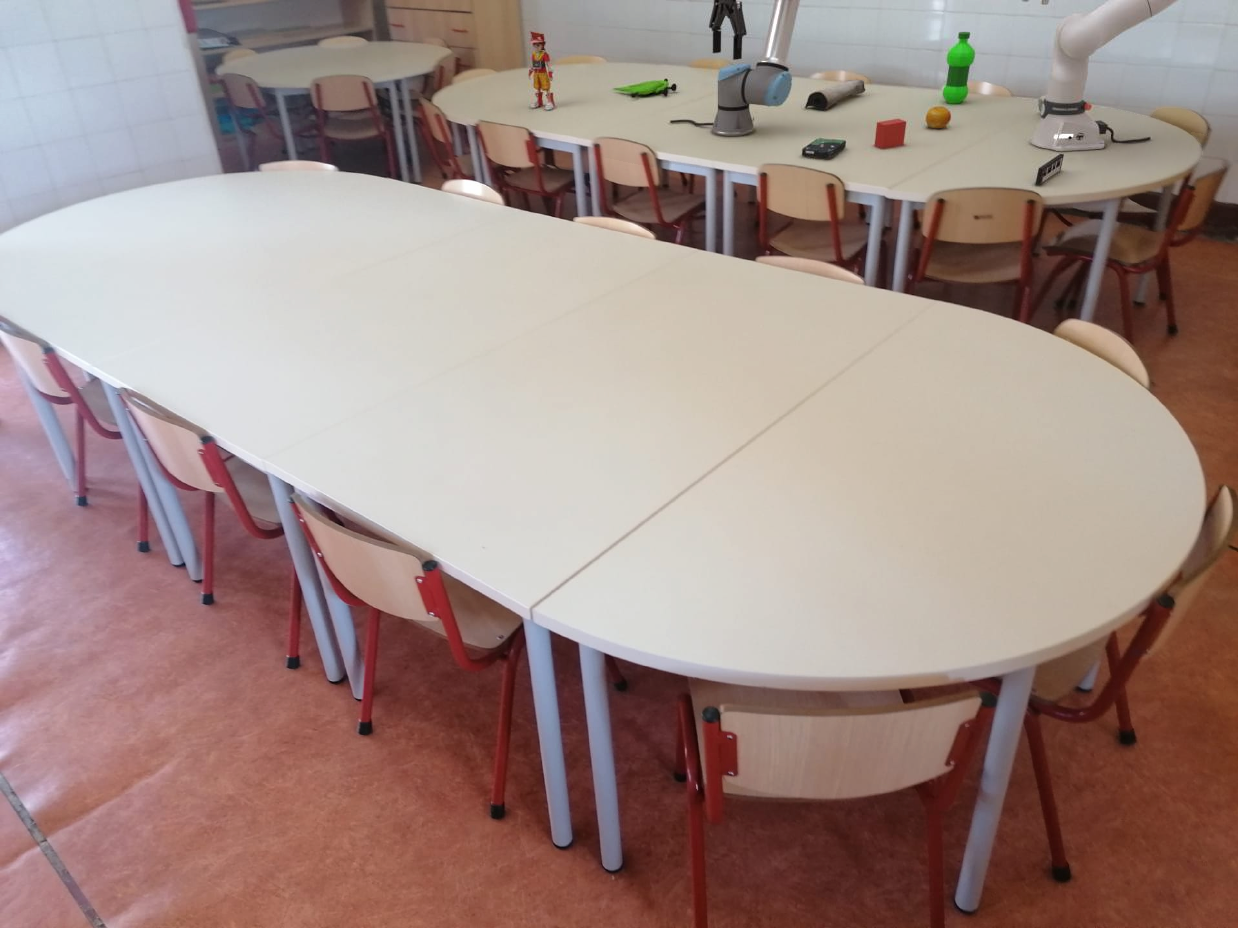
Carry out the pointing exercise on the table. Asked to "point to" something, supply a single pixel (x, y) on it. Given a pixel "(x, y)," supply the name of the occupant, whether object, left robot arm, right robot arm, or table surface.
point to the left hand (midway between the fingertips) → (726, 56)
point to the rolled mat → (834, 94)
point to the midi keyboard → (1049, 169)
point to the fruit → (938, 117)
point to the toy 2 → (648, 88)
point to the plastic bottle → (958, 69)
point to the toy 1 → (541, 71)
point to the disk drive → (823, 148)
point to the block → (890, 133)
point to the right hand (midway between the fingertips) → (1034, 3)
